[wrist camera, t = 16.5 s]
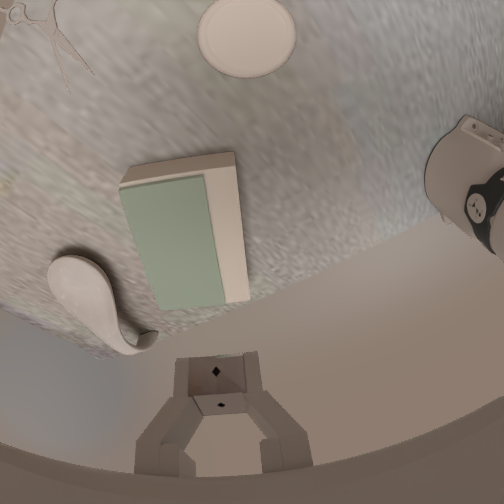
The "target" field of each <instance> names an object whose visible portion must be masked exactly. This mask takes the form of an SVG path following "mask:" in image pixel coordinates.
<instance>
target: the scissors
mask: <svg viewBox="0 0 504 504" xmlns="http://www.w3.org/2000/svg"><path fill="white" fill-rule="evenodd" d="M56 1H57V0H52V4H51V8H50V11H49V13H48V17H47V22H46V21H32V20H30V19H28V18H27V16H26V15H25V9H26V6H25V5H24V4H22V3H17V4H14V5H12V6H11V7H10V8H9V9H5V8H4V7H0V12H4V13H7V14H6V20H7V22H8V23H9V25H16V24H18V23H20V22H21V21H26V22H27V24H28V25H30V24H33V23H34V24H38V25H39V26H40V28H41V29H42V30H43V31H44V32H45V33H47V34H48V35H49V36H50V39H51V43H52V46H53V50H54V53H55V56H56V59H57V62H58V65H59V68H60V70H61V73H62V75H63V78H64V81H65V83H66V86H67V88H68V90H69V92H70V89H69V85H68V81H67V77H66V73H65V70H64V67H63V64H62V61H61V57H60V54H59V51H58V49H57V46H56V43H55V41H56V42H57V43H58V44H59V45H60V46H61V47H62V48H64V49H65V50H66V51H67V52H68V53H69V54H70V55H71V56H72V57H74V58H75V59H76V60H77V61H78V62H79V63H81V64H82V65H83V66H84V67H85V68H86V69H88V70H89V71H90V72H91V73H92V74H93V72H92V71H91V70H90V69H89V67H88V66H87V65H86V63H85V62H84V61H83V59H82V58H81V57H80V55H79V54H78V53H77V52H76V50H75V49H74V48H73V46H72V45H71V44H70V43H69V41H68V40H67V39H66V38H65V37H64V35H63V34H62V33H61V32H60V31H59V30H58V28H57V23H56V18H55V11H54V6H55V3H56ZM16 6H18V7H19V8H20V9H21V17H20V18H19V19H18V20H17V21H11V19H10V12H11V10H12V9H13V8H14V7H16ZM54 40H55V41H54ZM93 75H94V74H93ZM94 76H95V75H94ZM70 94H71V93H70Z"/></svg>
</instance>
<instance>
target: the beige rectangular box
mask: <svg viewBox="0 0 504 504" xmlns="http://www.w3.org/2000/svg"><path fill="white" fill-rule="evenodd" d="M201 174H203V176H204V183H205V189H206V195H207V201H208V207H209V213H210V219H211V225H212V230H213V236H214V242H215V247H216V253H217V258H218V264H219V269H220V275H221V280H222V285H223V290H224V296H225V302H226V303H229V302H239V301H247V300H250V293H249V284H248V275H247V266H246V257H245V248H244V239H243V230H242V221H241V211H240V202H239V193H238V184H237V174H236V165H235V157H234V151H232V152H224V153H215V154H208V155H200V156H193V157H186V158H180V159H174V160H167V161H162V162H156V163H150V164H145V165H139V166H134V167H130V169H129V170H128V171H127V173H126V174H125V176H124V177H123V179H122V180H121V182H120V183H119V185H120V188H121V187H127V186H132V185H138V184H143V183H149V182H155V181H161V180H167V179H174V178H180V177H187V176H194V175H201Z"/></svg>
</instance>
